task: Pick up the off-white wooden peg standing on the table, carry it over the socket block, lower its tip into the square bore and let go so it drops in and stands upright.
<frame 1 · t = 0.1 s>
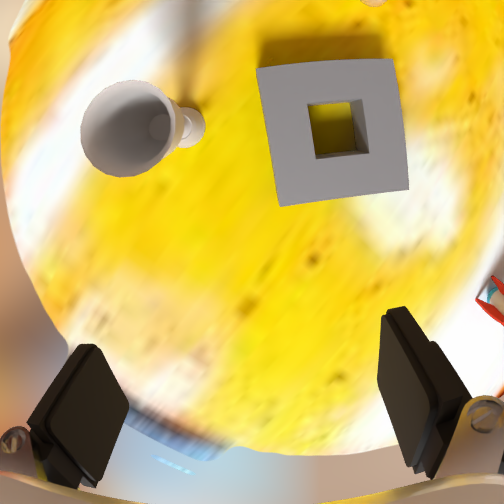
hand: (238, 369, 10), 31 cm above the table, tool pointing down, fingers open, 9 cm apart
socket block: (329, 128, 36), on the table
toy rocket: (490, 292, 44), on the table
chalice: (184, 127, 36), on the table
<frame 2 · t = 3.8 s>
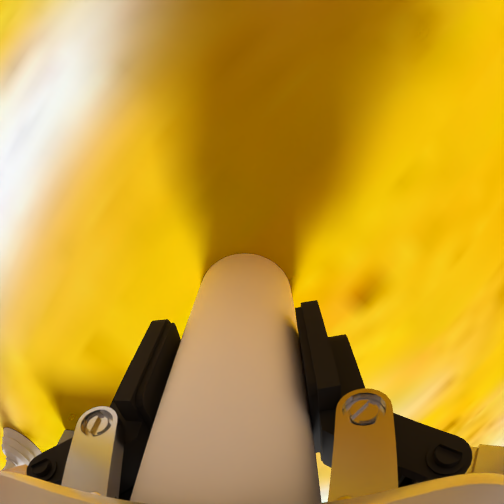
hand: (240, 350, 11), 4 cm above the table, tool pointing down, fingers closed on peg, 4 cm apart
peg: (245, 295, 14), on the table, touching gripper
chalice: (23, 442, 22), on the table
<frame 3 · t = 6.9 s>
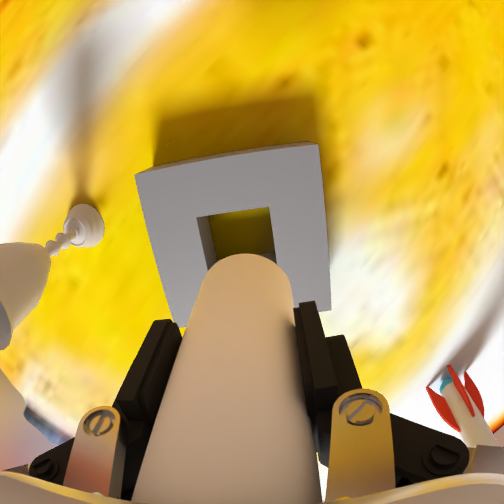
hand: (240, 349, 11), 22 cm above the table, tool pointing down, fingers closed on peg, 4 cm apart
peg: (246, 295, 14), point 18 cm above the table, touching gripper
socket block: (241, 227, 32), on the table
toy rocket: (445, 379, 40), on the table
chalice: (85, 225, 32), on the table
when the fingers open (7 cm above the table, at t = 9.7 s): peg drops 3 cm, resting in socket block.
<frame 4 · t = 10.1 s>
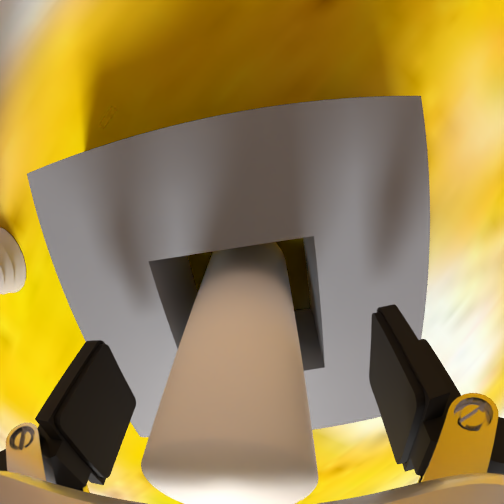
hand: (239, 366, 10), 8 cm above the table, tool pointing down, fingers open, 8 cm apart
peg: (247, 268, 17), resting in socket block
socket block: (248, 267, 17), on the table
chalice: (2, 259, 18), on the table
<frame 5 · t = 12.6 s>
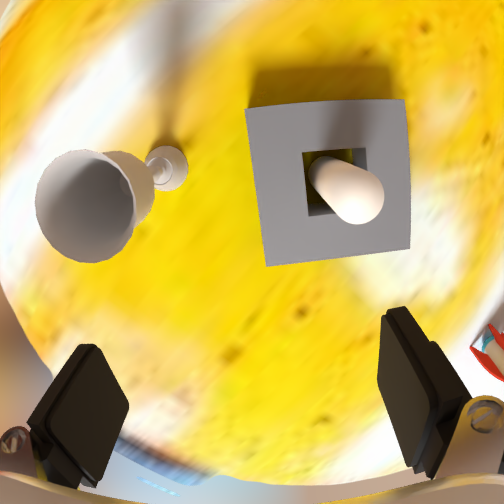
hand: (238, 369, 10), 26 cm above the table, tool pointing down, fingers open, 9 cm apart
peg: (326, 174, 33), resting in socket block
socket block: (326, 174, 33), on the table
toy rocket: (485, 339, 41), on the table
chalice: (165, 168, 34), on the table
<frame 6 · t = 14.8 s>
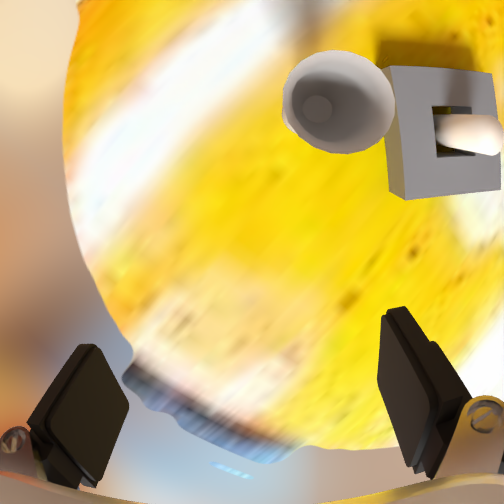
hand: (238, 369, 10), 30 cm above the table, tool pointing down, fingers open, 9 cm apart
peg: (434, 129, 34), resting in socket block
socket block: (434, 129, 34), on the table
chalice: (303, 114, 35), on the table
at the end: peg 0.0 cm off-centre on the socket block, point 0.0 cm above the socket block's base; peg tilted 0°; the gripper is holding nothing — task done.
